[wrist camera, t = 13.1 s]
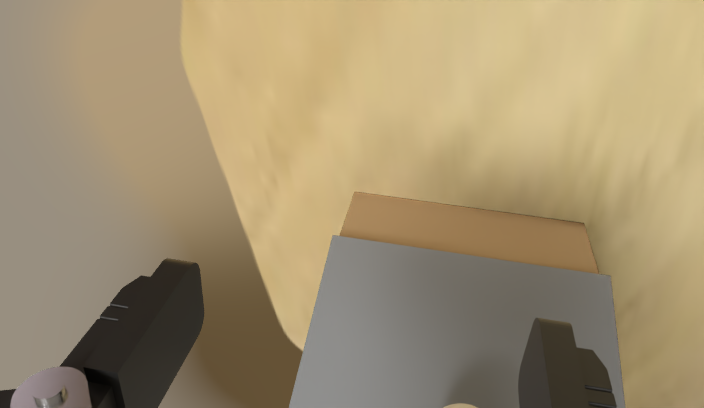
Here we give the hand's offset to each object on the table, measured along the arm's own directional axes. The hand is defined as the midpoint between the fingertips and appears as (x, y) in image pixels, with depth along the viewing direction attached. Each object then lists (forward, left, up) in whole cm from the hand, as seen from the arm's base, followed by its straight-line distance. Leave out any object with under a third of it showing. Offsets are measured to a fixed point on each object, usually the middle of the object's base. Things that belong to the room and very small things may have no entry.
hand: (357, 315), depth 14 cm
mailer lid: (-5, +20, -18) cm, 27 cm away
